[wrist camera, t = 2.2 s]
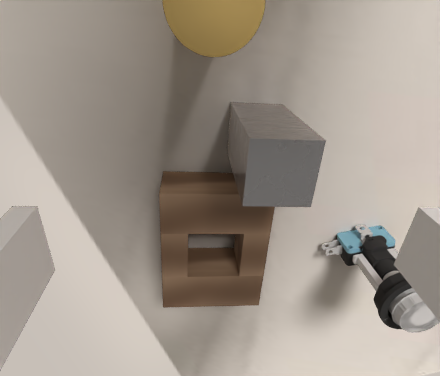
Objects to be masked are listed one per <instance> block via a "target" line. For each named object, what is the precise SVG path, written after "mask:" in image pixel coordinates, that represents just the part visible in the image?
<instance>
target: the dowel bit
mask: <svg viewBox="0 0 440 376" xmlns="http://www.w3.org/2000/svg"><path fill="white" fill-rule="evenodd" d="M163 8H164V13H165V16H166V20H167V22H168V24H169V27H170V28H171V30H172V32H173V34H174V35H175V36H176V38H177V39H178V40H179V41H180V42H181V43H182V44H183V45H184V46H186V47H187V48H188V49H190V50H191V51H193V52H195V53H197V54H200V55H203V56H208V57H221V56H226V55H229V54H232V53H234V52H236V51H238V50H239V49H241V48H242V47H244V46H245V45H246V44H247V43H248V42H249V41H250V40H251V39H252V37H253V36H254V34H255V33H256V31H257V29H258V28H259V26H260V23H261V21H262V17H263V14H264V9H265V0H163Z"/></svg>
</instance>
